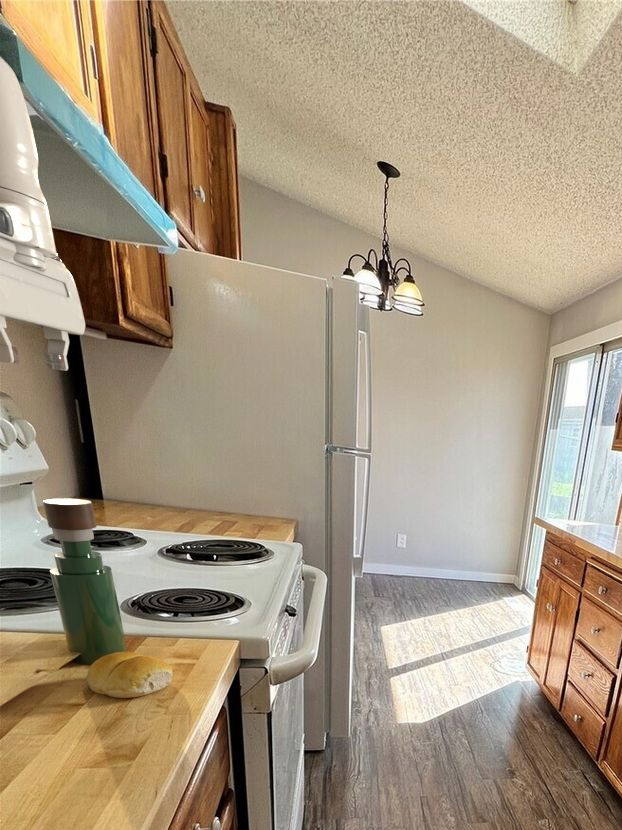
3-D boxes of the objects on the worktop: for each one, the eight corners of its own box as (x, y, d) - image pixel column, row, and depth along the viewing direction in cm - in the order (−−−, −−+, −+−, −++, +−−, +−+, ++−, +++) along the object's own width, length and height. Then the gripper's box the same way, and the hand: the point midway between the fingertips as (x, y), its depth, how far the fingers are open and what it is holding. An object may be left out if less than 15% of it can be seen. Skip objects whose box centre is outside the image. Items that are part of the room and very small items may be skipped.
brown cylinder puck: (39, 527, 67) (33, 502, 66) (63, 521, 71) (58, 497, 70) (83, 531, 67) (77, 506, 66) (104, 524, 72) (100, 500, 71)
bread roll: (131, 666, 74) (126, 638, 73) (185, 680, 72) (181, 652, 71) (70, 689, 67) (62, 659, 65) (128, 706, 65) (121, 675, 63)
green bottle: (59, 663, 73) (26, 528, 66) (87, 645, 79) (59, 519, 72) (112, 665, 74) (85, 533, 67) (136, 648, 80) (113, 524, 73)
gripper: (33, 249, 72) (58, 370, 77) (-107, 188, 53) (-61, 354, 59) (87, 257, 72) (107, 376, 78) (-32, 200, 54) (6, 362, 60)
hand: (34, 366), depth 68 cm, fingers open, 8 cm apart
